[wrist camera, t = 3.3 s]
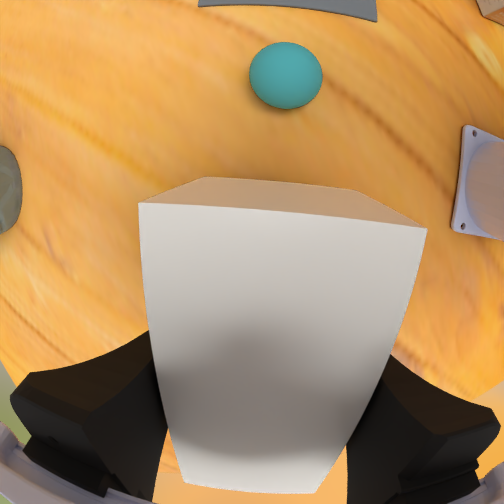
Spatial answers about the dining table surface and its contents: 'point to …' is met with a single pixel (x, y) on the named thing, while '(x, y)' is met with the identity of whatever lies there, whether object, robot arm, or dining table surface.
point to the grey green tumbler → (9, 189)
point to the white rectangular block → (270, 322)
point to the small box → (492, 9)
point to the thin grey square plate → (311, 6)
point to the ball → (285, 75)
